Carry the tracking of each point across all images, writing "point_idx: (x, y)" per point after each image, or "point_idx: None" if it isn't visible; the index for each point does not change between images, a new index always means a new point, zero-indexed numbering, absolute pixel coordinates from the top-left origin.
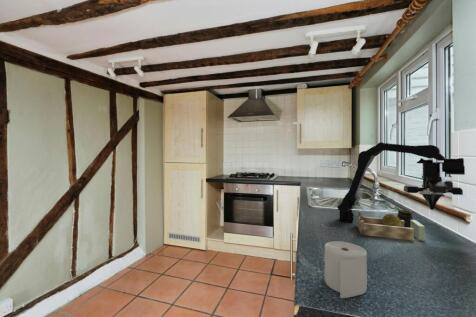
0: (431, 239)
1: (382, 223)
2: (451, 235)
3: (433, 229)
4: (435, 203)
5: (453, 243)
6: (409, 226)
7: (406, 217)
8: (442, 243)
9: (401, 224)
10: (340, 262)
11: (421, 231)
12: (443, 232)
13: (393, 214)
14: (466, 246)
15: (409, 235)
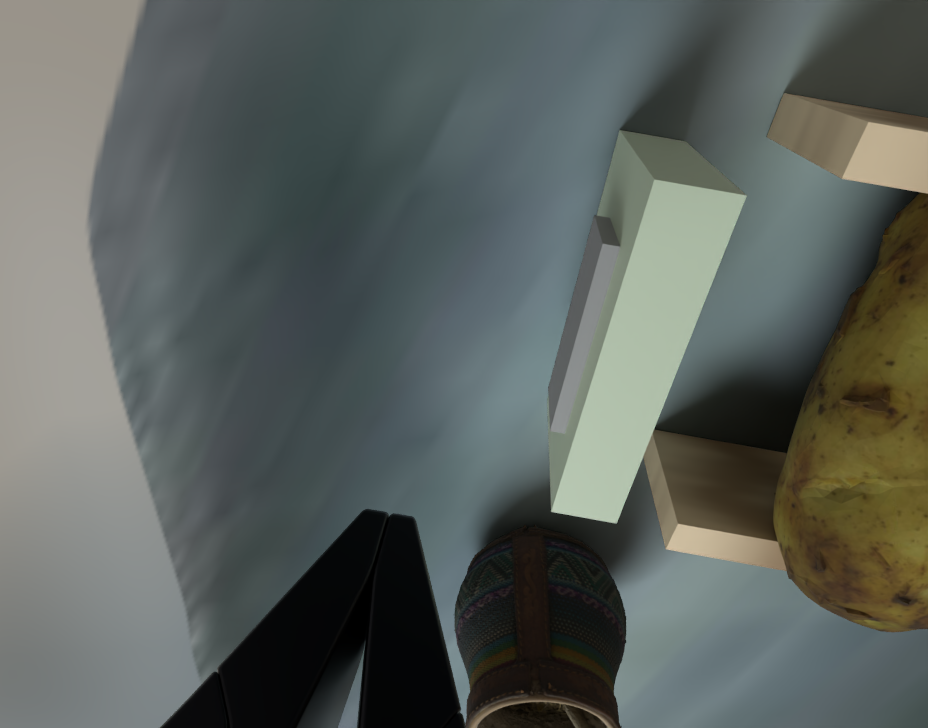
0: (492, 205)
1: None
2: (201, 384)
3: (294, 523)
4: (264, 647)
5: (298, 104)
6: (530, 532)
7: (559, 631)
8: (438, 67)
9: (910, 334)
10: None
11: (683, 164)
12: (239, 456)
13: (906, 596)
14: (192, 15)
15: (870, 113)
